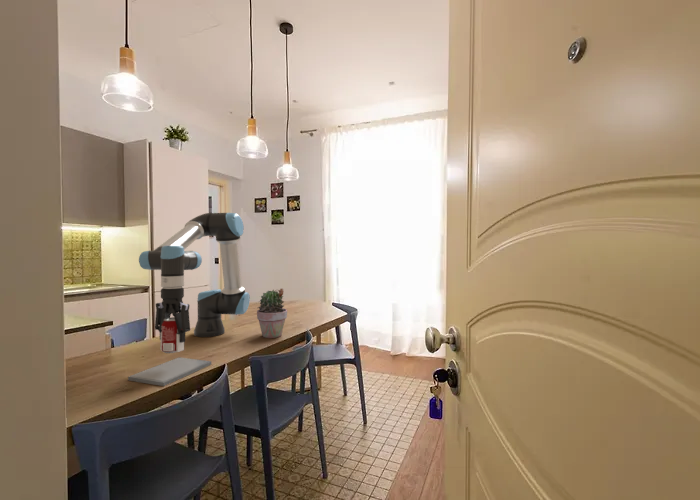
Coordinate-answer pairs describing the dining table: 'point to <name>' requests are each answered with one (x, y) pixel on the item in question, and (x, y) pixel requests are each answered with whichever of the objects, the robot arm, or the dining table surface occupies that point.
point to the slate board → (169, 371)
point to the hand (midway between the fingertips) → (172, 349)
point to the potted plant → (271, 314)
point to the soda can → (169, 335)
